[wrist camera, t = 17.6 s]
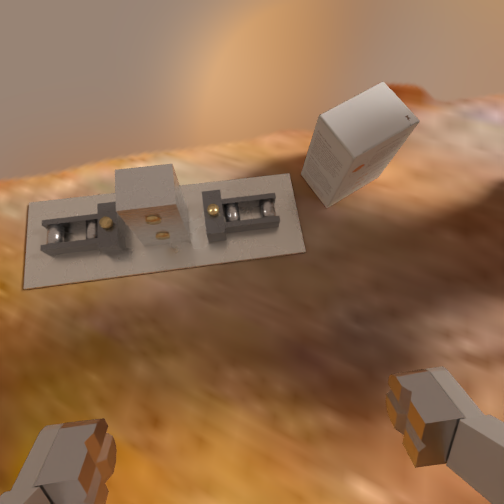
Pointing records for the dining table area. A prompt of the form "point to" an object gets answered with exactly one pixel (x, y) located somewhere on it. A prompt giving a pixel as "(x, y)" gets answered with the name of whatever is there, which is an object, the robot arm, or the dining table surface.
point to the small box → (356, 142)
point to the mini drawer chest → (152, 204)
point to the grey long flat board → (166, 255)
